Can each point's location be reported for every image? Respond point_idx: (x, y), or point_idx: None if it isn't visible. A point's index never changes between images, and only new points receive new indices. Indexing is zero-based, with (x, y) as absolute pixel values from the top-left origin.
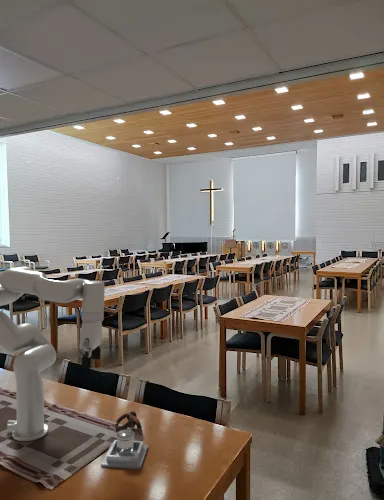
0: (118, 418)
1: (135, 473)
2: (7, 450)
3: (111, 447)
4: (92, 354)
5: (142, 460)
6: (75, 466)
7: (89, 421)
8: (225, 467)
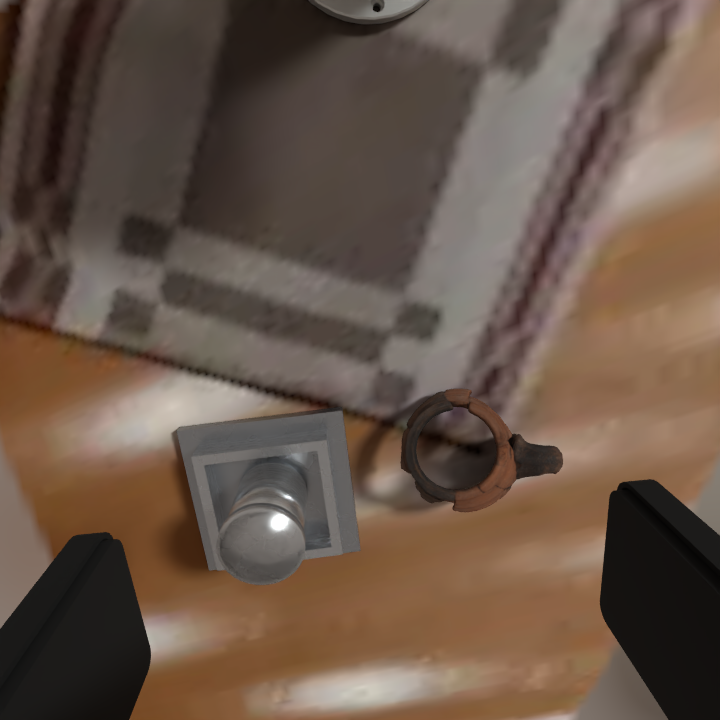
0: (486, 411)
1: (180, 556)
2: None
3: (262, 450)
4: (663, 562)
5: None
6: (149, 326)
7: (545, 206)
8: None
